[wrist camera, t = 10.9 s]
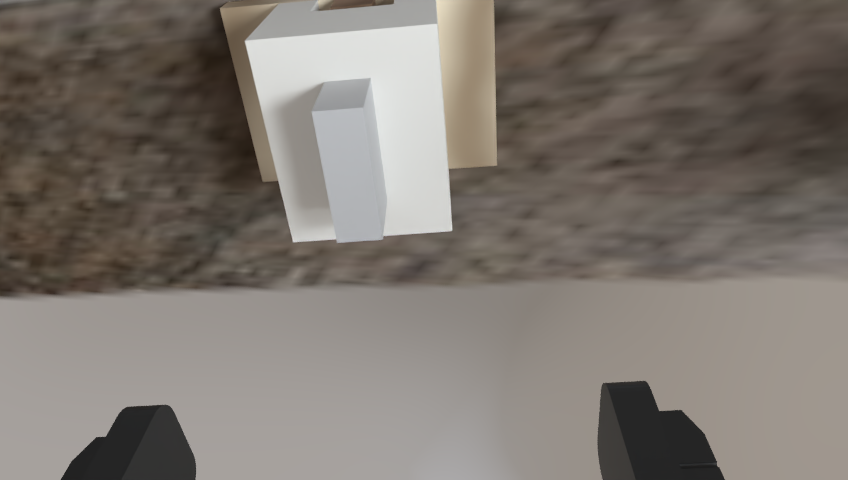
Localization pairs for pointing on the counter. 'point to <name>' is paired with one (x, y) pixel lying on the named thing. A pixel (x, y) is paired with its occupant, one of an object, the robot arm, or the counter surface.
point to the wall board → (460, 64)
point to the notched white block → (355, 118)
